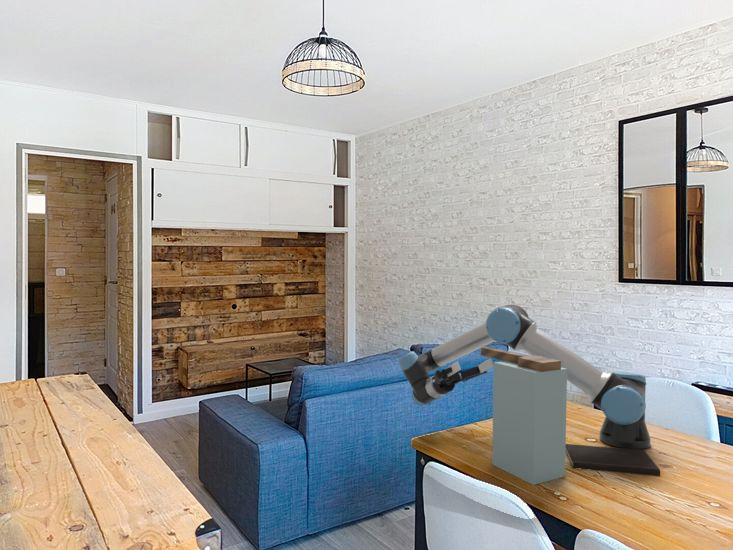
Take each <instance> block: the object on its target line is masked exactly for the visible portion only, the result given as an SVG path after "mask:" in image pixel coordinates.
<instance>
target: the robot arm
mask: <svg viewBox="0 0 733 550" xmlns="http://www.w3.org/2000/svg"><path fill="white" fill-rule="evenodd" d="M494 342H497V343H500V344H505V345H506V346H508V347H510V349H512V350H514V351H516V352H517V351H523V352H525V353H527V354H528V356H540V357H545V358H550V359H555V360H559V361H561V368H566V369H567V382H569V383H570V384H572V385H573V386H575V387H576V388H578V389H579V390H580V391H582V392H583V393H585V394H586V395H587V396H588V398H589V402H590V403H591V404H593V405H594V406H595V407H597V408H598V409H600V410H601V411H602V413H603V414H604V416H605V417H604V420H603V423H602V425H601V428H600V429H599V430H600V431H599V440H600V441H601V442H603V443H604V444H606V445H610V446H612V447H614V448H625V449H638V450H644V449H645V450H646V449H648V448H650V447H651V437H650V433H649V430H648V426H647V423H646V418H645V417H646V389H647V387H646V386H647V381H646V377H645V375H643V374H641V373H633V372H625V371H609V372H608V371H607V372H604V371H602V370H600V369H599V368H598V367H596V366H594V364H592V363H590V362H588V361H587V360H586V359H584V358H583V357H581V356H579V355H578V354H576V353H575V352H573V351H572V350H570V349H569V348H567V347H566V346H565V345H562V344H561V343H560V342H558V341H557V340H555V339H554V338H552V337H550V336H549V335H547V334H546V333H545V332H542V331H541V330H540V329H538V326H537V322H536V321H534V320H533V319H531V318H530V317H529V314H528V313H527V312H526V310H525V309H524V308H523V307H521V306H520V305H516V304H507V305H504V306H498V307H496V308H495V309H493V310H492V311H491V312H490V313H489V314H488V316H487V318H486V322H484V323H482V324H480V325H478V326H476V327H474V328H472V329H470V330H468V331H465V332H464V333H462V334H460V335H457V336H455V337H454V338H452V339H450V340H448V341H445V342H444V343H442V344H440V345H437V346H435V347H433V348H432V349H429V350H428V351H425V352H423V353H421V354H419V355H417V353H416V352H415V351H410V352H408V353H405V354H404V355H403V356H401V357H399V358H398V360H397V361H398V364H399V366H400V369H401V371H402V373H403V375H405V377H406V379H407V381H408V382H409V384H410V387H411V388H412V391H411V392H410V393H411V400H412V401H413V402H414V404H416V405H418V406H419V407H420V406H425V405H426V406H427V405H428V404H431V403H432V402H434V401H436V400H437V399H439V400H441V398H442V397H443V396H445V395H447V394H448V393H450V392H452V391H453V390H455V386H456V385H457V384H459V383H460V382H463V383H465V382H467V381H470V380H471V379H474V378H477V377H479V376H483V375H484V374H487V373H488V372H487V371H488V370H490V369H492V368H494V361H493V358H491V357H489V358H488V359H486V360H485V361H483V362H480V363H478V365H477V366H474V367H471V368H470V369H469V368H468V369H465V370H462V367H461V365H460V363H459V361H456V362H454V361H455V360H457V359H460V358H462V357H464V356H466V355H469V354H471V353H473V352H474V351H475V352H476V351H477V350H479V349H481V347H487V346H488V345H490V344H492V343H494ZM451 362H453V363H452V364H451V365H449V366H448V367H446V368H443V369H441V370H439V368H441V367H443V366H445V365H447V364H449V363H451ZM433 371H435V372H434V375H433V376H430V375H429V374H428V373H430V372H431V373H432V372H433Z"/></svg>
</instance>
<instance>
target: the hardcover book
mask: <svg viewBox="0 0 733 550" xmlns="http://www.w3.org/2000/svg"><path fill="white" fill-rule="evenodd" d="M565 453H566V454H567V456H568V459H569V461H570V462H571V465H572V469H576V468H581V469H580V470H587V469H590V471H601V472H611V473H623V474H635V475H636V474H637V475H645V476H656V477H657V476H658V477H660V476H661V469H660V468H659V466H657V464H656V463H655V462H654V461H653V459H652V458H651V457H650V456H649V455H648V453H647V452H646V451H645V450H644V449H626V448H620V447H613V446H612V447H611V446H610V447H609V446H596V445H586V444H585V445H583V444H572V443H566V450H565Z"/></svg>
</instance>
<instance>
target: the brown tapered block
mask: <svg viewBox="0 0 733 550" xmlns="http://www.w3.org/2000/svg"><path fill="white" fill-rule="evenodd" d="M480 356H483V357H487V358H491V359H496V360H499V361H507V362H512V363H516V364H518V366H520V367H524V368H528V369H532V370H537V371H541V372H546V371H554V370H561V361H559V360H555V359H550V358H545V357H540V356H531V355H529V354H528V355H527V354H522V353H517V352H514V351H508V350H504V349H499V348H494V347H489V346H484V347H481V348H480Z"/></svg>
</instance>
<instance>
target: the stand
mask: <svg viewBox="0 0 733 550" xmlns="http://www.w3.org/2000/svg"><path fill="white" fill-rule="evenodd" d="M493 365H494V366H493V383H492V384H493V385H492V386H493V387H492V388H493V389H492V391H493V392H492V393H493V394H492V395H493V397H492V398H493V399H492V449H491V450H492V454H491V456H492V457H491V459H492V460H491V463H492V466H494V467H496V468H499V469H500V470H502V471H504V472H507V473H508V474H511V475H512V476H515V477H517V478H519V479H520V480H523V481H525V482H526V483H529V484H531V485H533V486H534V485H535V486H536V485H539V484H543V483H546V482H550V481H554V480H557V479H561V478H565V477H566V444H567V443H566V441H567V439H566V437H567V391H568V390H567V388H568V385H567V384H568V381H567V369H566V368H561V370H554V371H546V372H541V371H537V370H532V369H528V368H524V367H520V366H518V364H516V363H512V362H507V361H503V360H501V361H495V362H494V361H493Z"/></svg>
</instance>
